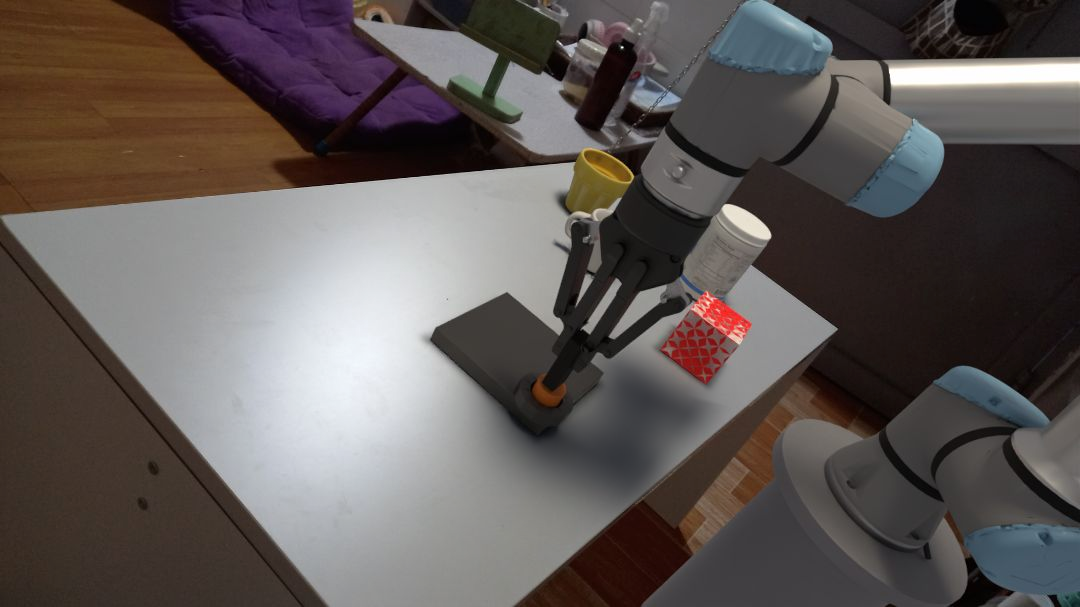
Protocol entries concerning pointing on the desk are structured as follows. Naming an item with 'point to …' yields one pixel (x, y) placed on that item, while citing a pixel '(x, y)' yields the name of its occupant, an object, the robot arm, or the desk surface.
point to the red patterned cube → (706, 337)
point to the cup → (599, 216)
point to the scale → (512, 358)
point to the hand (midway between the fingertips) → (553, 381)
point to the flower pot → (597, 181)
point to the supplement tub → (724, 252)
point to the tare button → (548, 393)
